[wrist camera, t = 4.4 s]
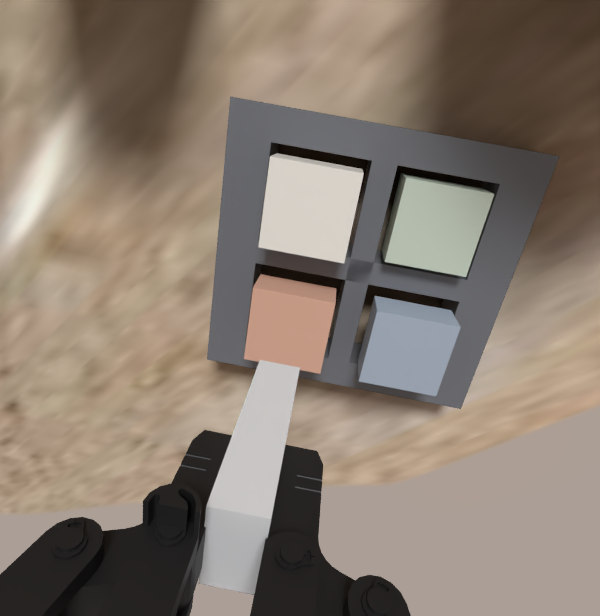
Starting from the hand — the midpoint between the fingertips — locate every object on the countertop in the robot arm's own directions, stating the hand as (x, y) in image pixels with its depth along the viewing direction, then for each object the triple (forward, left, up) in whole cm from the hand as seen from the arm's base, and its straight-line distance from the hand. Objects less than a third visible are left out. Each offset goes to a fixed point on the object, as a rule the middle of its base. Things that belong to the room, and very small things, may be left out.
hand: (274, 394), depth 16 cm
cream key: (0, +6, -9) cm, 11 cm away
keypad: (+3, +3, -11) cm, 11 cm away
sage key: (+6, +6, -10) cm, 13 cm away
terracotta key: (0, 0, -9) cm, 9 cm away
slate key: (+6, 0, -9) cm, 11 cm away
